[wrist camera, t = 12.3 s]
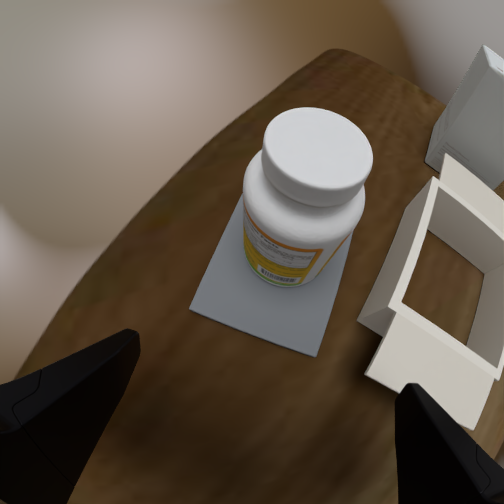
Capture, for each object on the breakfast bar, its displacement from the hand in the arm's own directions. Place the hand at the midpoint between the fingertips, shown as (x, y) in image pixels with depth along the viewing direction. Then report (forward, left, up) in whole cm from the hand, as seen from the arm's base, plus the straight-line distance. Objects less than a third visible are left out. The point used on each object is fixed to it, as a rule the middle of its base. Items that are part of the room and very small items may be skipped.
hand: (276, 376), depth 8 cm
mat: (+8, +1, -8) cm, 12 cm away
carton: (+9, -11, -8) cm, 16 cm away
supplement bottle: (+8, +1, -8) cm, 11 cm away
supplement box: (+24, -13, -9) cm, 28 cm away
